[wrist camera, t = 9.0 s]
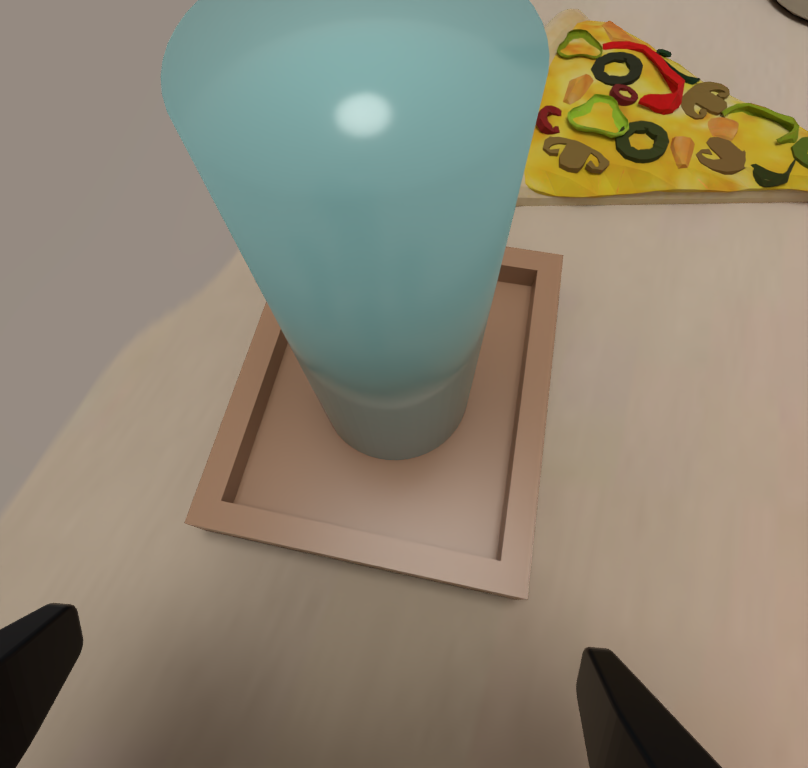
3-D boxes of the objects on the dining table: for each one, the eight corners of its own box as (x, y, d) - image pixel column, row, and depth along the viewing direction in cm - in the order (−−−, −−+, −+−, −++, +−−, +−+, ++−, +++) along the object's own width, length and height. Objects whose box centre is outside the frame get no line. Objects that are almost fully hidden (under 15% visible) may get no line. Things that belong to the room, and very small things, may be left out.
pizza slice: (535, 29, 32) (546, -25, 29) (888, 110, 28) (939, 58, 26) (449, 204, 27) (452, 159, 24) (873, 333, 23) (935, 296, 20)
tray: (516, 599, 18) (527, 599, 16) (206, 530, 19) (184, 523, 18) (551, 282, 24) (563, 255, 22) (307, 243, 25) (298, 215, 23)
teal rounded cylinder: (483, 445, 20) (603, 160, 7) (332, 472, 19) (157, 231, 7) (451, 315, 22) (495, -83, 9) (316, 337, 22) (163, -38, 9)
